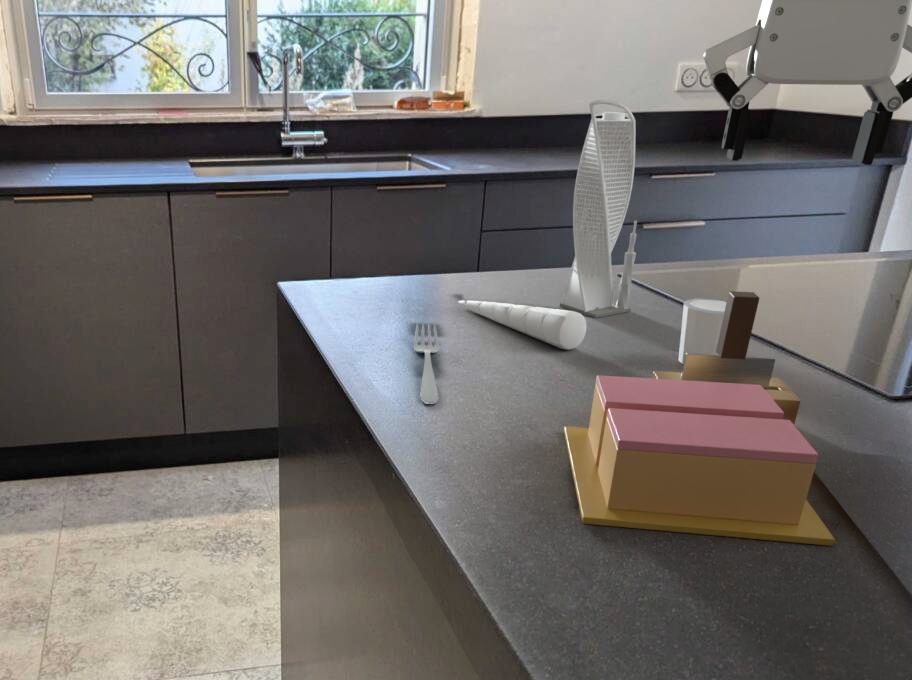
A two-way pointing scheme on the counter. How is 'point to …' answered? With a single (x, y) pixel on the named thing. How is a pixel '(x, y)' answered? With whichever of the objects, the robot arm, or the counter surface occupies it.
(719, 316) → the shot glass
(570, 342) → the unicorn horn
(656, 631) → the counter surface
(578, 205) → the skyscraper
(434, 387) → the fork
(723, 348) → the knife
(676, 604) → the counter surface
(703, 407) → the cake
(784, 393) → the knife stand
